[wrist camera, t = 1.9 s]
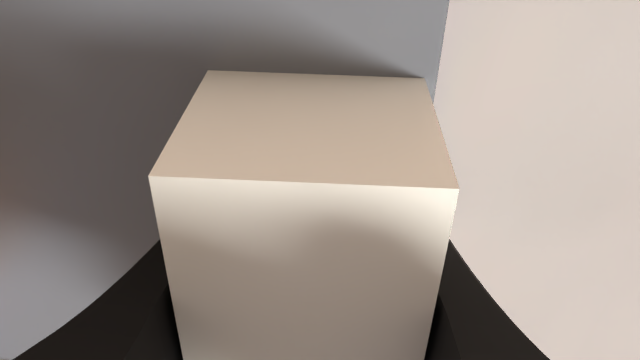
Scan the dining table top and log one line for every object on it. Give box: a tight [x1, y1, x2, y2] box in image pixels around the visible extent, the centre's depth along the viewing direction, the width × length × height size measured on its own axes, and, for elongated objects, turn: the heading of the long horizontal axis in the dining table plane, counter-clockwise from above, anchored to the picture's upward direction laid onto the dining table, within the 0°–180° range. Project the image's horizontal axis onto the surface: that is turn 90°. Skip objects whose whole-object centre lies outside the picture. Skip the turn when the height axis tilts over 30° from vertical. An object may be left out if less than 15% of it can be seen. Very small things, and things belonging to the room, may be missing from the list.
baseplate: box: [0, 0, 449, 360], centre depth 17 cm, size 18×24×1 cm
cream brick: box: [148, 70, 459, 360], centre depth 11 cm, size 4×8×4 cm, turn 179°
